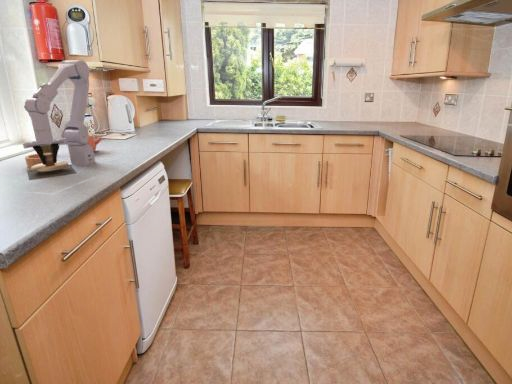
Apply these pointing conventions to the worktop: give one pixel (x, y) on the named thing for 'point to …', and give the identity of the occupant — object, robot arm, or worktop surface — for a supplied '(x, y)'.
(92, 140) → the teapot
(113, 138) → the worktop surface
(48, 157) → the lid
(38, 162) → the bowl
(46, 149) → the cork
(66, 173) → the mat
